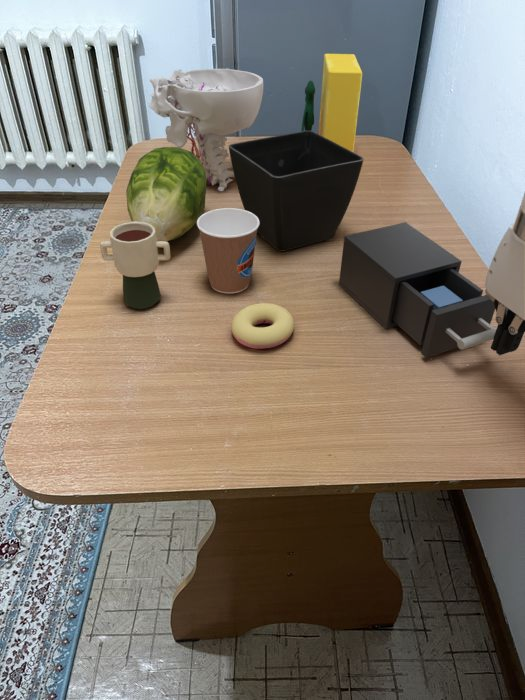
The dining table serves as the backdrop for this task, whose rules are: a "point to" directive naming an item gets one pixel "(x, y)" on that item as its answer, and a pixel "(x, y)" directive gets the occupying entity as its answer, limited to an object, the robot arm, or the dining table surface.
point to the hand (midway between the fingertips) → (503, 349)
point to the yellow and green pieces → (336, 100)
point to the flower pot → (295, 186)
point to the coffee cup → (228, 247)
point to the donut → (267, 335)
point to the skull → (208, 112)
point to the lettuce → (167, 191)
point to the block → (441, 297)
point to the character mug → (136, 261)
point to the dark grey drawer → (444, 313)
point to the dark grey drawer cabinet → (388, 266)
